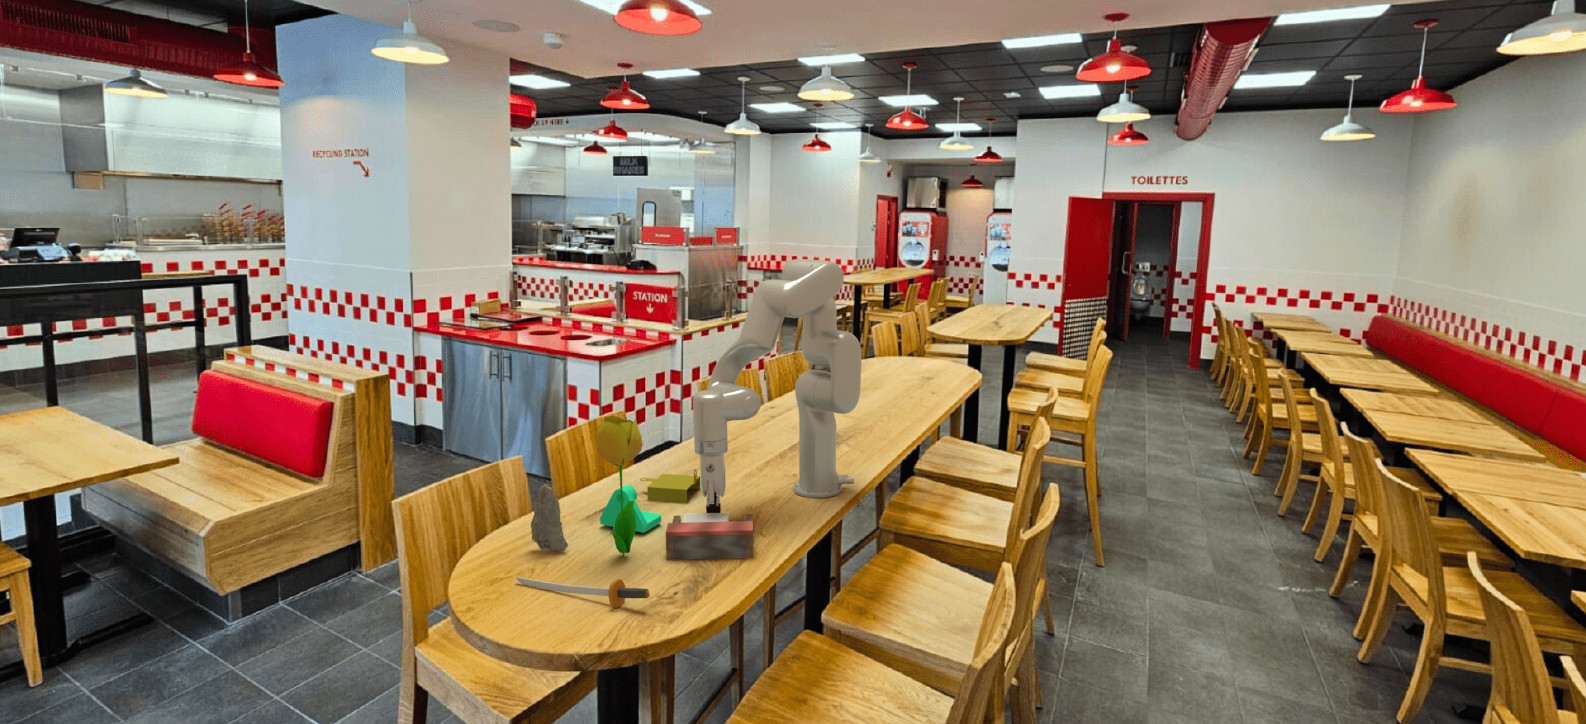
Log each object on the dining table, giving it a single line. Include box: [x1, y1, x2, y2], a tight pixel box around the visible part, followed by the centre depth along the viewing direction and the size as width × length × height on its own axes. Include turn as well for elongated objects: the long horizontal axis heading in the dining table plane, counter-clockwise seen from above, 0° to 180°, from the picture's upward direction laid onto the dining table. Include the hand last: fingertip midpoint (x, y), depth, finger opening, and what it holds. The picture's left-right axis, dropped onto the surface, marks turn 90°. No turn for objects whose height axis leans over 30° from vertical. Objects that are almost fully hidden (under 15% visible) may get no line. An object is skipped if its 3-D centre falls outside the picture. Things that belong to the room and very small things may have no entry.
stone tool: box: [530, 483, 569, 553], centre depth 167 cm, size 8×3×15 cm, turn 75°
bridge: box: [665, 513, 754, 561], centre depth 173 cm, size 18×18×6 cm
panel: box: [682, 512, 730, 523], centre depth 173 cm, size 10×16×4 cm, turn 2°
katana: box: [514, 575, 651, 609], centre depth 147 cm, size 30×4×5 cm, turn 68°
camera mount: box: [599, 484, 662, 533], centre depth 181 cm, size 12×8×10 cm, turn 65°
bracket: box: [639, 468, 702, 505], centre depth 202 cm, size 16×8×15 cm
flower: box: [595, 415, 643, 558], centre depth 163 cm, size 9×8×30 cm
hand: (713, 520), depth 183 cm, fingers closed
